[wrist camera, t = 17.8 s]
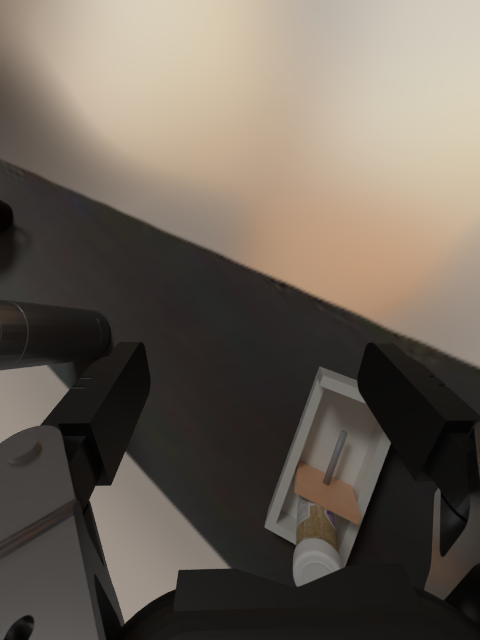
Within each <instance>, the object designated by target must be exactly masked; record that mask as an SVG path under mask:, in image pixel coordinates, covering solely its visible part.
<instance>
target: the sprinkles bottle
mask: <svg viewBox="0 0 480 640" xmlns="http://www.w3.org/2000/svg"><path fill="white" fill-rule="evenodd" d="M342 568H343V564H342V561H341V558H340V556H339V551H338V543H337V536H336V525H335V517H334V513H333V512H332V511H330V510H328V509H326V508H324V507H322V506H320V505H318V504H316V503H314V502H312V501H310V500H308V499H306V498H304V497H302V496H300V495H299V500H298V509H297V525H296V548H295V551H294V557H293V577H294V581H295V583H296V586H297V587H298V586H302V585H304V584H306V583H309V582H311V581H313V580H316V579H318V578H321V577H323V576H325V575H328V574H330V573H332V572H335V571H337V570H339V569H342Z"/></svg>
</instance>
